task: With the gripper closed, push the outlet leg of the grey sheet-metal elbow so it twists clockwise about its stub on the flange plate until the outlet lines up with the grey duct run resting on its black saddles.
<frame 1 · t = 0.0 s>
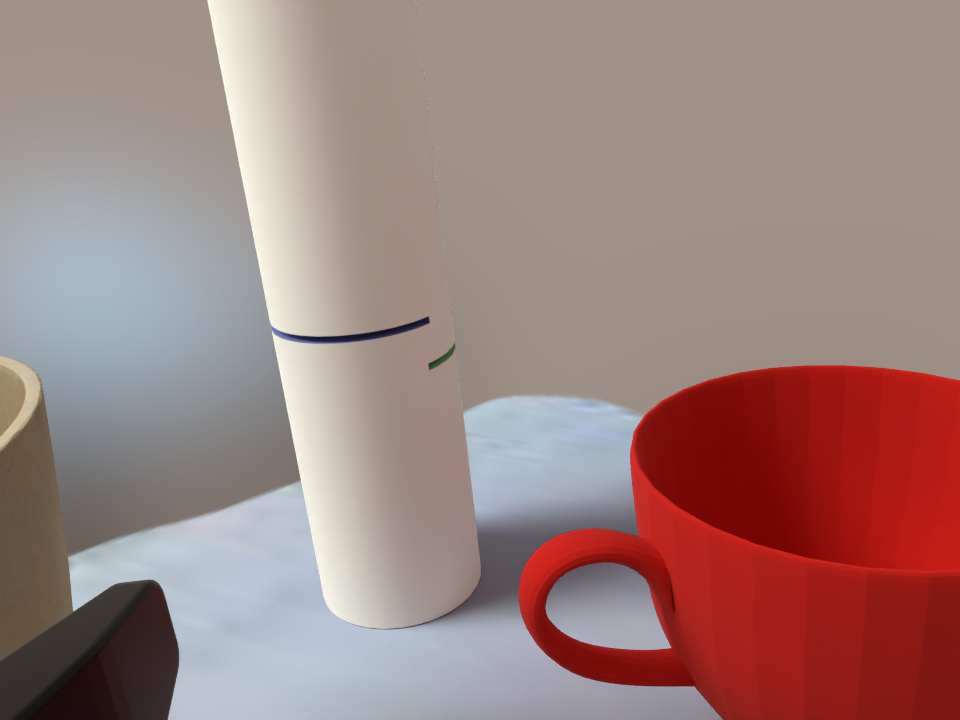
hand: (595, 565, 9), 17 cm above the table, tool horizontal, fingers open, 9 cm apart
cylindrical container: (403, 580, 37), on the table
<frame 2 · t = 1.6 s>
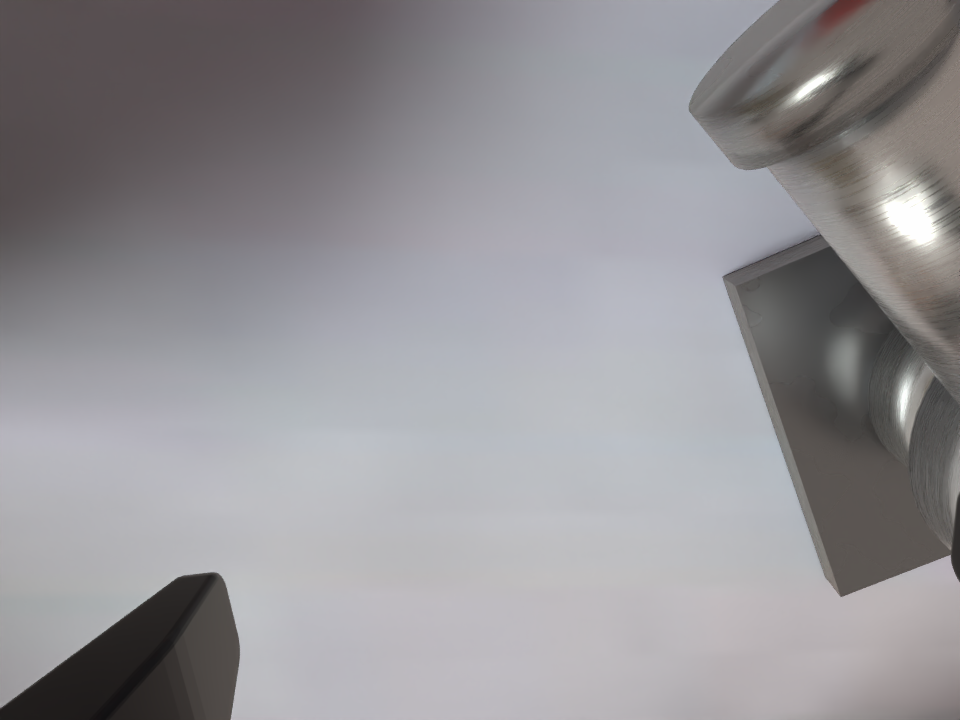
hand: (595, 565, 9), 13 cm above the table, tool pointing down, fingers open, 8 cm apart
flange plate: (951, 366, 22), on the table
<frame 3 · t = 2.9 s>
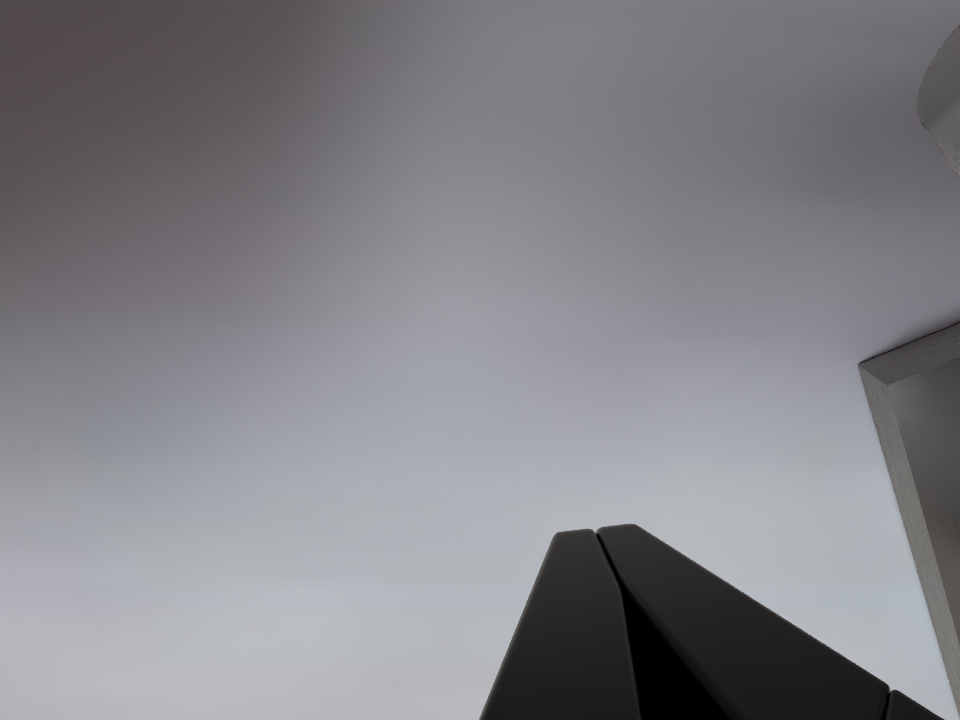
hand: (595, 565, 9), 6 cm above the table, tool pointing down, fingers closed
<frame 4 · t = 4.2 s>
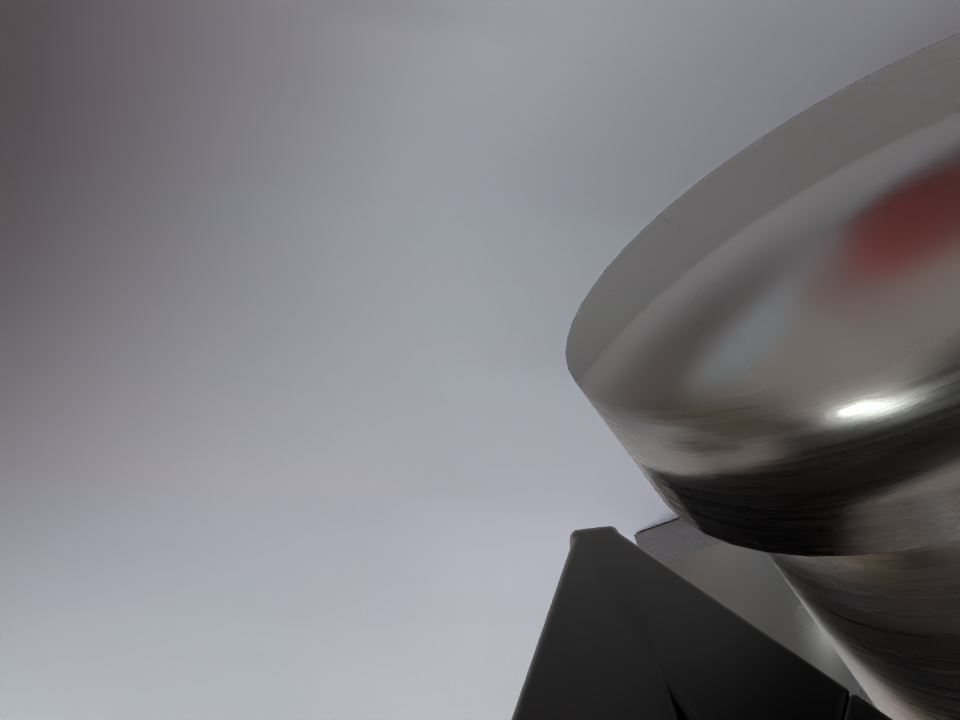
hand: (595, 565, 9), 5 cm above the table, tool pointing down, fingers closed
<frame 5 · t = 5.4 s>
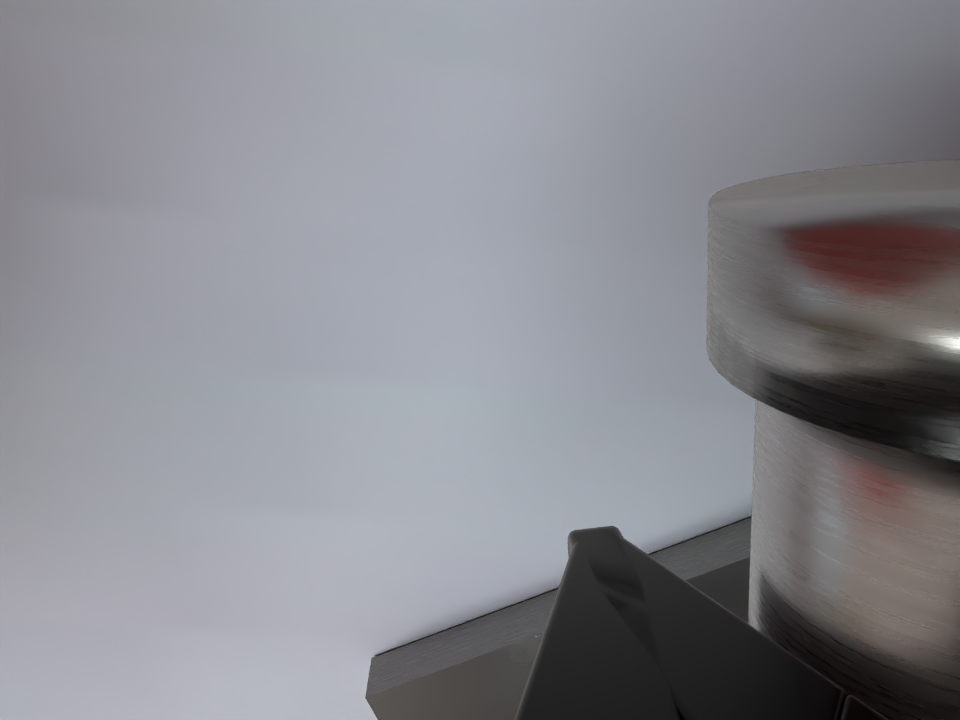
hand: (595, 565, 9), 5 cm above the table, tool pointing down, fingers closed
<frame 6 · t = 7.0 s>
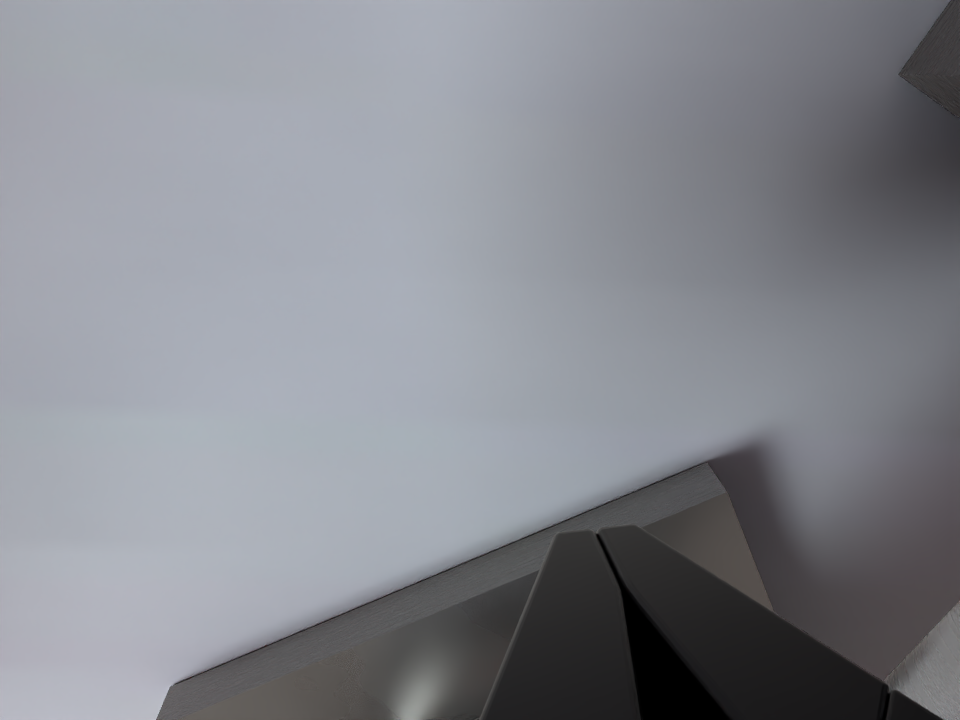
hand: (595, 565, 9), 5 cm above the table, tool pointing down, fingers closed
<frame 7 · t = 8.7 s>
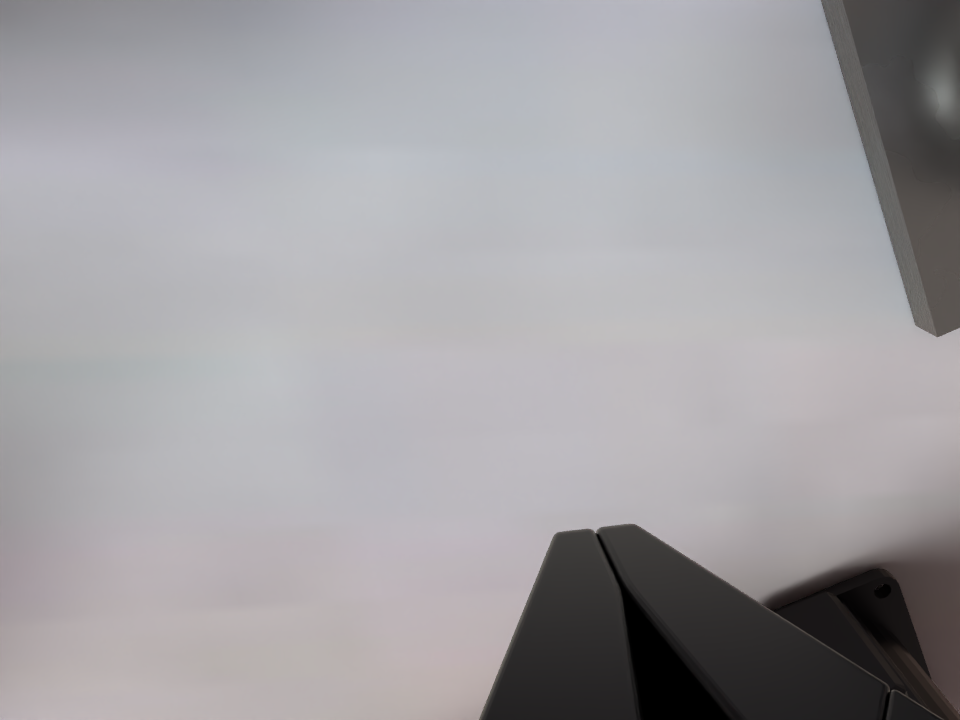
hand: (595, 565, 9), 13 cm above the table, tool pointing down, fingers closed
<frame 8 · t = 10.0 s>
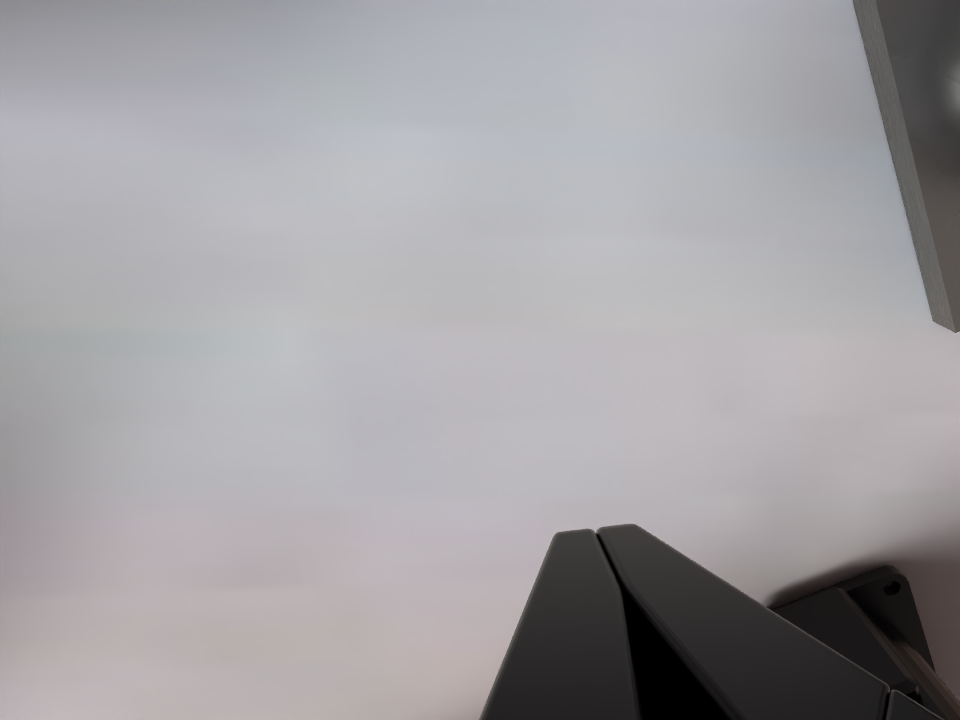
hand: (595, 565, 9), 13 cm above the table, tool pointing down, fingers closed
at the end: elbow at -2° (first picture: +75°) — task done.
